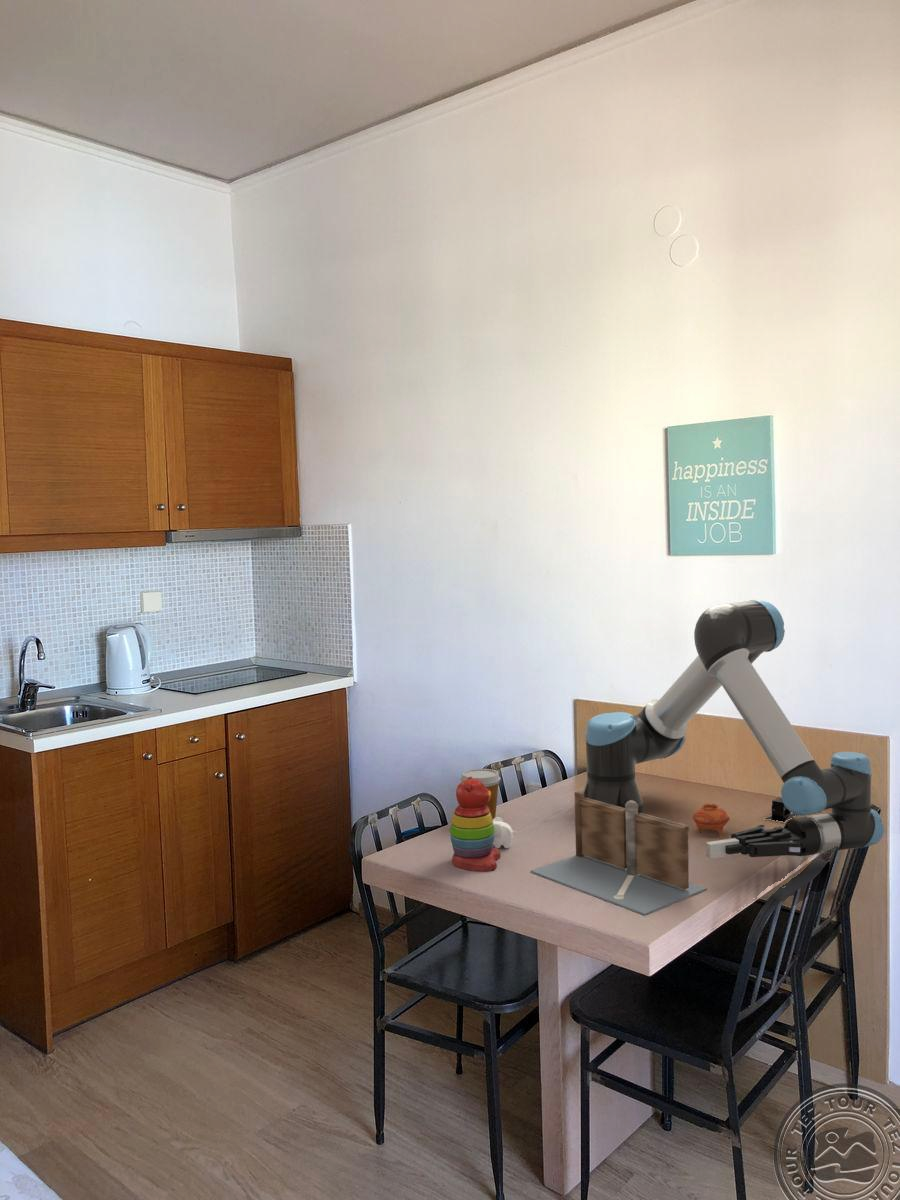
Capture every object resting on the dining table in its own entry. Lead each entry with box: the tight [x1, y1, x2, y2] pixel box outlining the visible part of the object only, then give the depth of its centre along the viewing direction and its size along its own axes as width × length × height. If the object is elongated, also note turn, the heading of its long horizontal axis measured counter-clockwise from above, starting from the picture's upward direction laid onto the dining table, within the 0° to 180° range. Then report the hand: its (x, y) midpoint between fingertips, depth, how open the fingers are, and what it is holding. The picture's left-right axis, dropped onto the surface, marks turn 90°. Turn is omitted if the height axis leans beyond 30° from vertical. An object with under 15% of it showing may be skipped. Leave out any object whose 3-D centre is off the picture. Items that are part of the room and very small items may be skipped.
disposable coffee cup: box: [460, 768, 501, 820], centre depth 234 cm, size 10×10×12 cm
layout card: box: [530, 855, 708, 916], centre depth 195 cm, size 30×18×1 cm, turn 38°
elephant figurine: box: [492, 816, 518, 850], centre depth 217 cm, size 7×8×6 cm
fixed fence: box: [574, 791, 638, 875], centre depth 203 cm, size 17×3×15 cm, turn 38°
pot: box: [692, 803, 730, 836], centre depth 222 cm, size 8×8×7 cm
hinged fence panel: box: [635, 813, 690, 889], centre depth 191 cm, size 12×2×12 cm, turn 38°
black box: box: [764, 797, 796, 822], centre depth 232 cm, size 12×7×5 cm, turn 139°
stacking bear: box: [449, 777, 501, 872], centre depth 207 cm, size 11×10×18 cm
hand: (708, 850), depth 192 cm, fingers closed
